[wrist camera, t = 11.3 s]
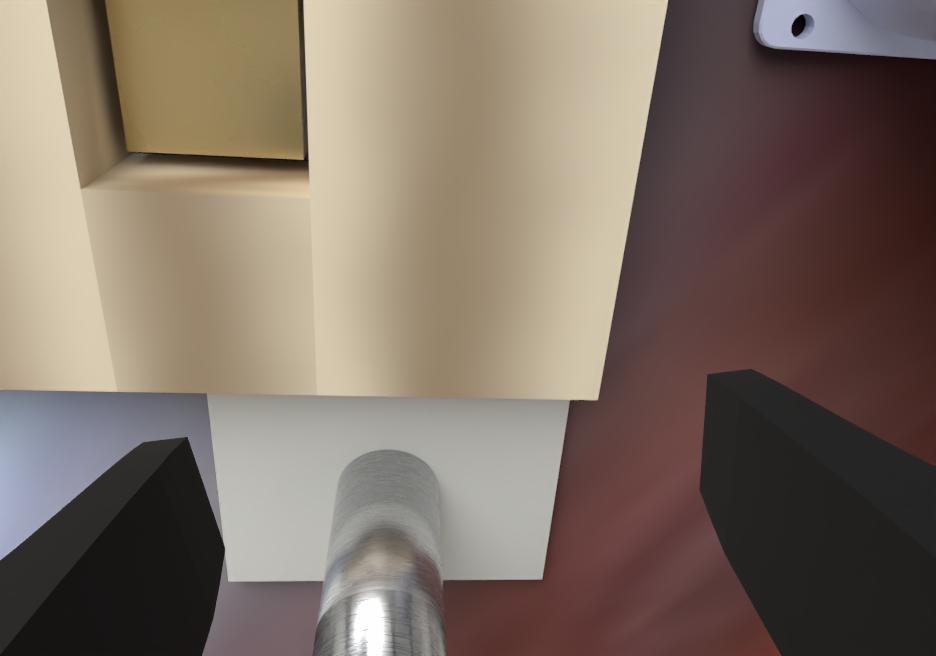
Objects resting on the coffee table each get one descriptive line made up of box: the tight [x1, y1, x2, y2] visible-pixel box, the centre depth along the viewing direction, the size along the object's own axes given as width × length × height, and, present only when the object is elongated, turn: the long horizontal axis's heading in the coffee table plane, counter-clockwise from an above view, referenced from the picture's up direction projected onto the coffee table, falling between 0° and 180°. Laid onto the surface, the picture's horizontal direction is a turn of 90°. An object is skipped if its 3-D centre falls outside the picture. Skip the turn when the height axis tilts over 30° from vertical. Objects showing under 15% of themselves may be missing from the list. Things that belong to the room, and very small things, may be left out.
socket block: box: [0, 0, 668, 400], centre depth 15 cm, size 18×14×3 cm
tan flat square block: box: [105, 0, 308, 160], centre depth 15 cm, size 4×4×1 cm
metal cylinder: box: [313, 449, 447, 656], centre depth 18 cm, size 3×3×7 cm
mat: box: [207, 393, 570, 582], centre depth 22 cm, size 10×7×1 cm
